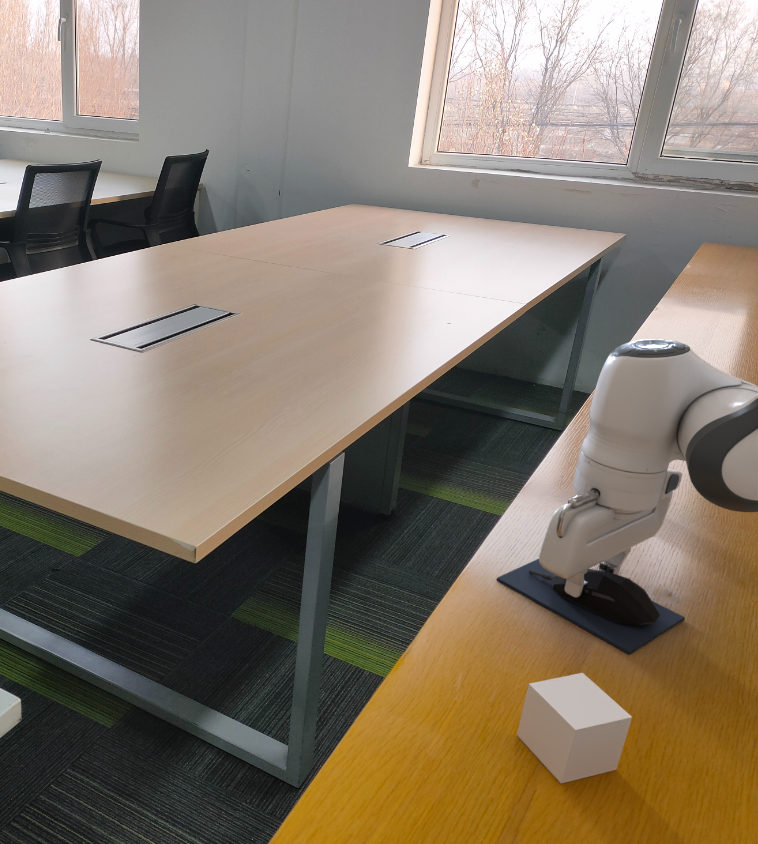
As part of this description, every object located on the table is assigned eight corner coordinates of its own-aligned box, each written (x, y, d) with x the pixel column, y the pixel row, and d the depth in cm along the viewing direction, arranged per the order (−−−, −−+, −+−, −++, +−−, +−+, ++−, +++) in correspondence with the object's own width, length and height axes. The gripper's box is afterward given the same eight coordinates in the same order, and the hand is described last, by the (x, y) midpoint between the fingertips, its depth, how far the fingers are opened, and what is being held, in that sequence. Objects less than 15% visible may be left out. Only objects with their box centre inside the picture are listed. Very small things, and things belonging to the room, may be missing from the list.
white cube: (516, 735, 75) (528, 683, 73) (569, 723, 77) (582, 672, 75) (561, 784, 70) (575, 729, 68) (616, 770, 71) (632, 716, 69)
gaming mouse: (539, 563, 103) (545, 536, 102) (664, 614, 93) (673, 585, 92) (517, 581, 99) (523, 553, 97) (645, 637, 89) (654, 607, 88)
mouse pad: (684, 620, 93) (685, 617, 93) (629, 654, 87) (630, 651, 87) (552, 554, 106) (553, 551, 106) (496, 580, 100) (496, 577, 100)
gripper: (592, 514, 82) (564, 626, 88) (690, 471, 93) (660, 573, 98) (538, 490, 87) (514, 597, 92) (637, 452, 98) (611, 550, 103)
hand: (590, 584), depth 95 cm, fingers closed on gaming mouse, 6 cm apart
